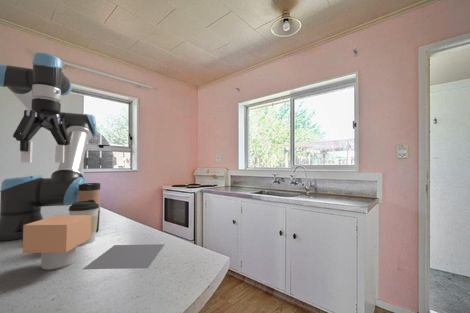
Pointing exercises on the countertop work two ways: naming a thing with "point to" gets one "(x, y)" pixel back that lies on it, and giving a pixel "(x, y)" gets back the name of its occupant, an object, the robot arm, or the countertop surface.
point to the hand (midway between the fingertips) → (44, 162)
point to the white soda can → (57, 259)
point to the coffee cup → (86, 209)
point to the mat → (126, 257)
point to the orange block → (56, 233)
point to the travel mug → (90, 195)
